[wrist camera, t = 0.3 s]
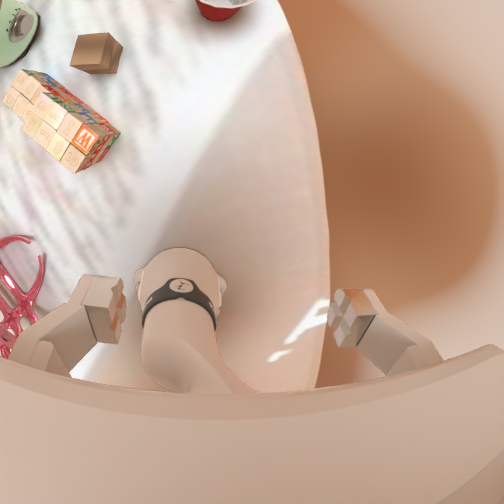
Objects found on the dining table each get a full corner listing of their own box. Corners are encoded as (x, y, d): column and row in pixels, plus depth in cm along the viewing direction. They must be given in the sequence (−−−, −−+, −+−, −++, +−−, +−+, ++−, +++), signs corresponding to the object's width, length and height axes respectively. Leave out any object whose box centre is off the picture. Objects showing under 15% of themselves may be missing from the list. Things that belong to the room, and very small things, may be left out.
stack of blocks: (28, 101, 31) (-10, 102, 20) (46, 73, 30) (11, 65, 19) (101, 161, 40) (73, 175, 29) (122, 132, 39) (99, 136, 28)
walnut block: (116, 73, 34) (99, 63, 26) (90, 73, 32) (69, 65, 25) (122, 47, 32) (108, 32, 24) (97, 48, 30) (78, 35, 23)
